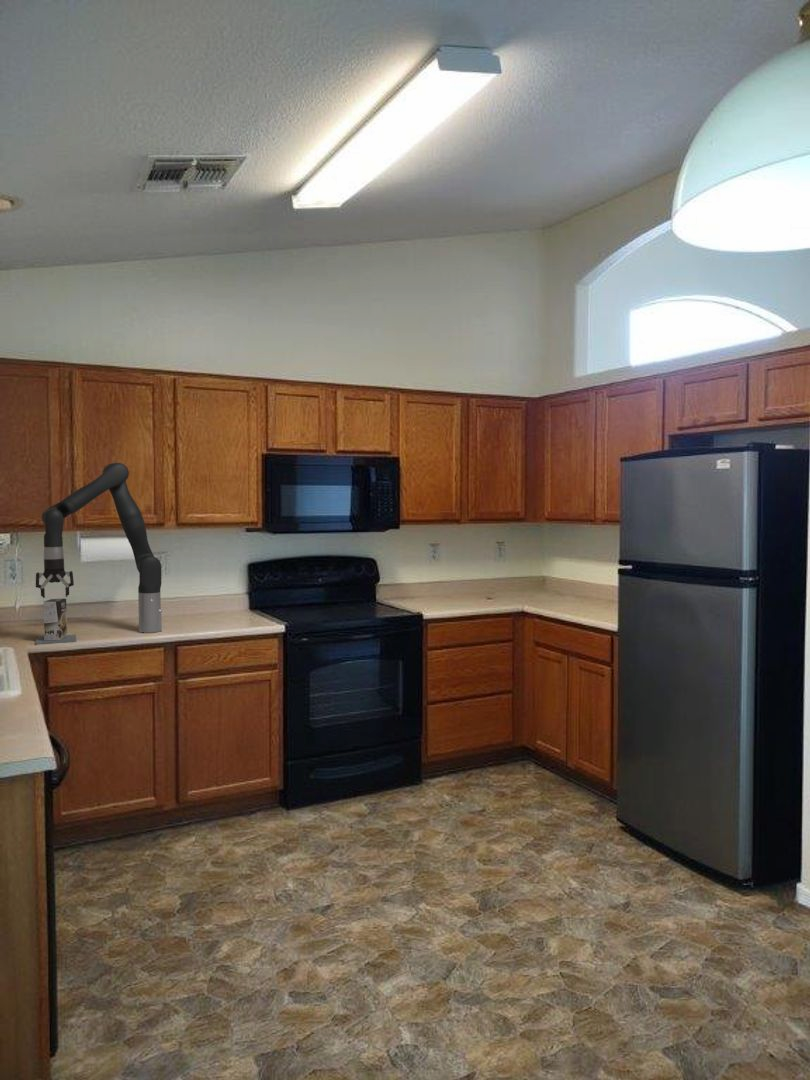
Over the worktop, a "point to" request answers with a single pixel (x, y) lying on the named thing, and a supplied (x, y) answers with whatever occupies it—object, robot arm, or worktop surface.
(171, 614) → the worktop surface
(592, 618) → the worktop surface
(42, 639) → the mat
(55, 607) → the coffee box
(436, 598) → the worktop surface
